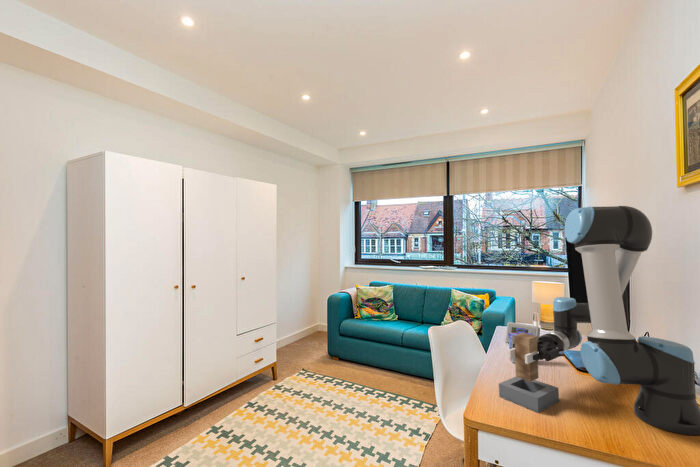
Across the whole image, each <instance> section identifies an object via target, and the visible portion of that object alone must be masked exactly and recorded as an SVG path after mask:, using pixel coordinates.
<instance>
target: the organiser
mask: <svg viewBox="0 0 700 467" xmlns="http://www.w3.org/2000/svg"><path fill="white" fill-rule="evenodd" d="M559 392H560V391H559V387H557V386H554V385H551V384H548V383H545V382H543V381H540V380H537V379H535V380H533V381H531V382H530V381H527V380H524V379H521V378H519V377H516V376H514V377H512V378H509V379H507V380H506V379H505V380H504V381H502V382H499V383H498V394H499V396H498V398H501V399H504V400H506V401H509V402H511V403H512V404H516V405H518V406H520V407H523V408H525V409H528V410H530V411H533V412H534V413H537V414H539V413H541V412H543V411H545V410H546V409H549V408H550V407H552V406H554V405H555V404H557V403H559V401H560V399H559V398H560V397H559V396H560V395H559V394H560V393H559Z"/></svg>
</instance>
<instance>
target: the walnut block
mask: <svg viewBox="0 0 700 467" xmlns="http://www.w3.org/2000/svg"><path fill="white" fill-rule="evenodd" d="M534 351H538V347H537V336H533V335H529V334H525V333H521V334H518V335H515V363H514V364H515V365H514V366H515V377H519V378H521V379H524V380H527V381H530V382H531V381H533V380H537V379H539V360H537V361H533V362H531V363H529V364H526V363H525V355H526V354H529V353H531V352H534Z"/></svg>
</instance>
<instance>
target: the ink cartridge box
mask: <svg viewBox="0 0 700 467" xmlns="http://www.w3.org/2000/svg"><path fill="white" fill-rule="evenodd" d="M520 329H521V330H524V331H518V330H520ZM521 333H525V334H529V335H533V334H532V333H526V332H525V328H516V333H509V343H508V344H509V346H508V348H509V349H508V350H510V349H512V348H513V344H514V343H515V335H518V334H521ZM533 336H534V335H533ZM509 360H510V362H511V363H512V364H515V357H514V358H511V359H510V358H509Z"/></svg>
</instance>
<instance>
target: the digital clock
mask: <svg viewBox="0 0 700 467" xmlns="http://www.w3.org/2000/svg"><path fill="white" fill-rule="evenodd" d="M516 328H525V332H526V333H532V334H533V335H534V336H537V340H538V339H539V337H540V335H541V328H540V327H539V326H536V325H530V324H525V323H519V322H512V321H508V322H507V326H506V332H505V339H504V340H505V343H507V344H509V333H516ZM518 331H524V330H521V329H520V330H518Z"/></svg>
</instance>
